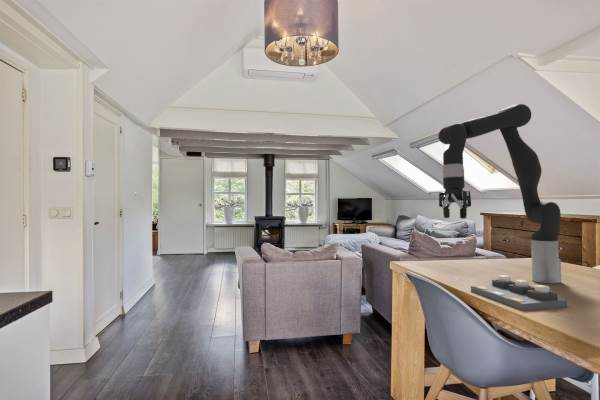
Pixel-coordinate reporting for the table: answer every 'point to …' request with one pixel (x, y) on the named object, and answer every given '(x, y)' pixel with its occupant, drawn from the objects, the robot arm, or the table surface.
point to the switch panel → (519, 296)
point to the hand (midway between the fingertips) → (454, 218)
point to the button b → (522, 283)
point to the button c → (542, 289)
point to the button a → (504, 278)
